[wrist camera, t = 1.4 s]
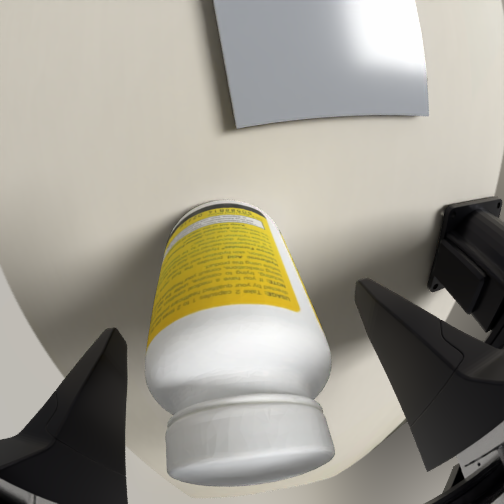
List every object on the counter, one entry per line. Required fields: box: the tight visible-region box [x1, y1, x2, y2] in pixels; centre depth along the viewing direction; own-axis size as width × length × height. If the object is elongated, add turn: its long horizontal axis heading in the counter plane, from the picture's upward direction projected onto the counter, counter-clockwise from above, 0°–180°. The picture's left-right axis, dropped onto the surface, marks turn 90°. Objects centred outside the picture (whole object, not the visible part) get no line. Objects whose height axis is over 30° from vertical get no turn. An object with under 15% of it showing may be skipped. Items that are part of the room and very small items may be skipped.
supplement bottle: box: [145, 200, 335, 487], centre depth 9 cm, size 5×5×10 cm
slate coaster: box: [213, 0, 429, 128], centre depth 8 cm, size 9×9×1 cm
